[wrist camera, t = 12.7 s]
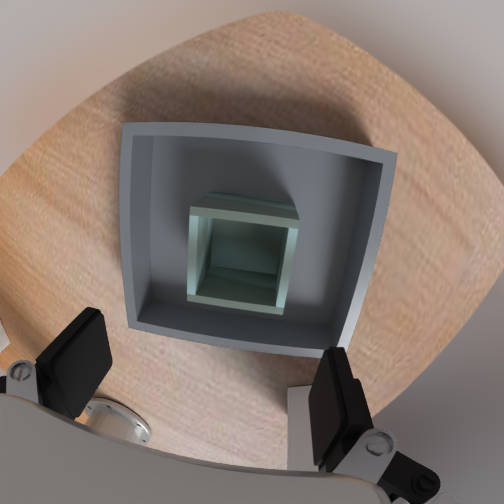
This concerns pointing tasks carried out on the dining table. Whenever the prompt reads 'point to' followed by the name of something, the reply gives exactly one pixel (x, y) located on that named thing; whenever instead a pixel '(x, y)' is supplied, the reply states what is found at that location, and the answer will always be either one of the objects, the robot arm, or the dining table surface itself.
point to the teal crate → (241, 251)
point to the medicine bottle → (3, 338)
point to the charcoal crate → (257, 185)
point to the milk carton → (299, 430)
